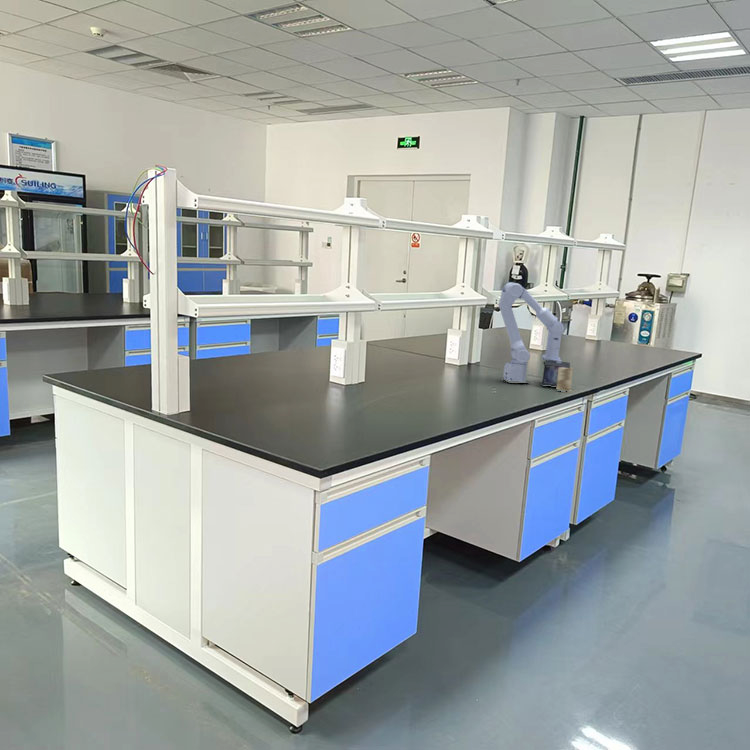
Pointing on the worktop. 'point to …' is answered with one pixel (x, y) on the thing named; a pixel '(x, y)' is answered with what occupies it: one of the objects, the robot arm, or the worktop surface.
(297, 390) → the worktop surface
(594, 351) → the worktop surface
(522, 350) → the robot arm
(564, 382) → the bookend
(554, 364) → the small box
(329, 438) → the worktop surface
